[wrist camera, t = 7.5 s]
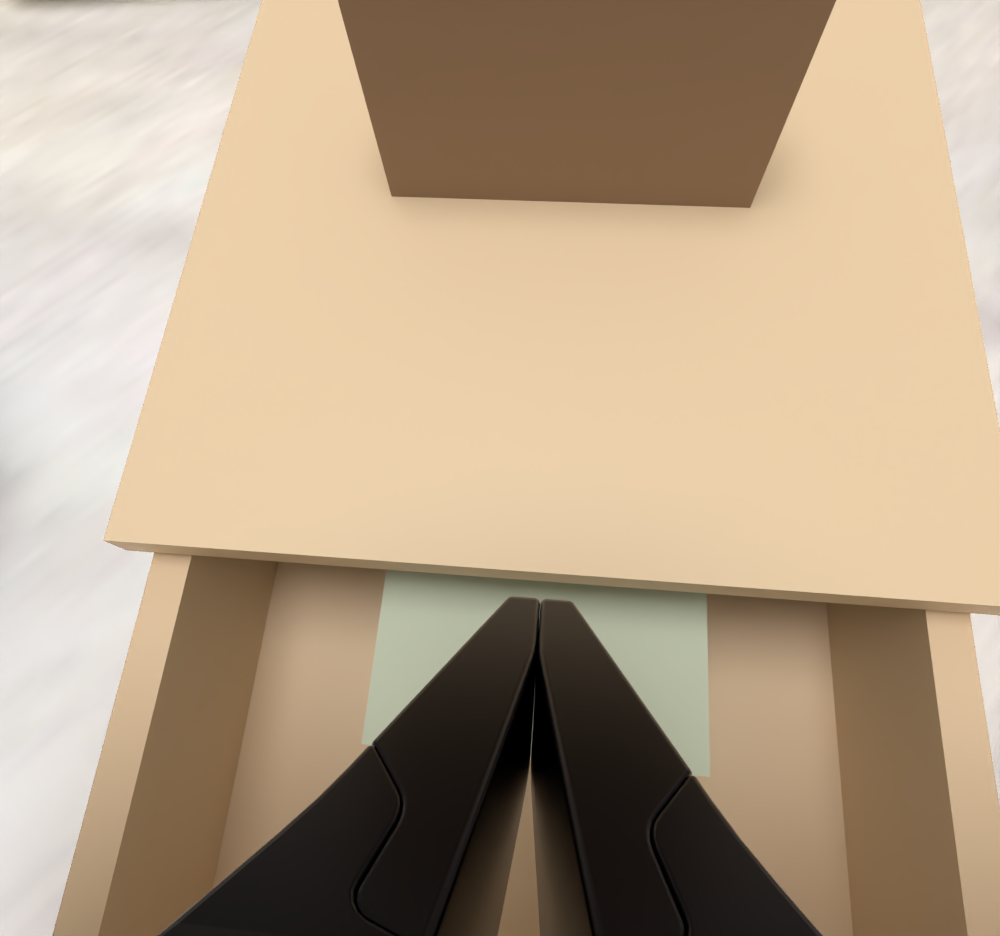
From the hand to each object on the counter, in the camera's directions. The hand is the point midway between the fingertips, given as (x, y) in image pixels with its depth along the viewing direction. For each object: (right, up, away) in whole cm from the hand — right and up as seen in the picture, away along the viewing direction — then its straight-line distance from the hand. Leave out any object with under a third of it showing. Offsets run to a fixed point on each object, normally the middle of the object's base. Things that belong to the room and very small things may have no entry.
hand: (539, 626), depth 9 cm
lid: (+1, +10, +8) cm, 12 cm away
